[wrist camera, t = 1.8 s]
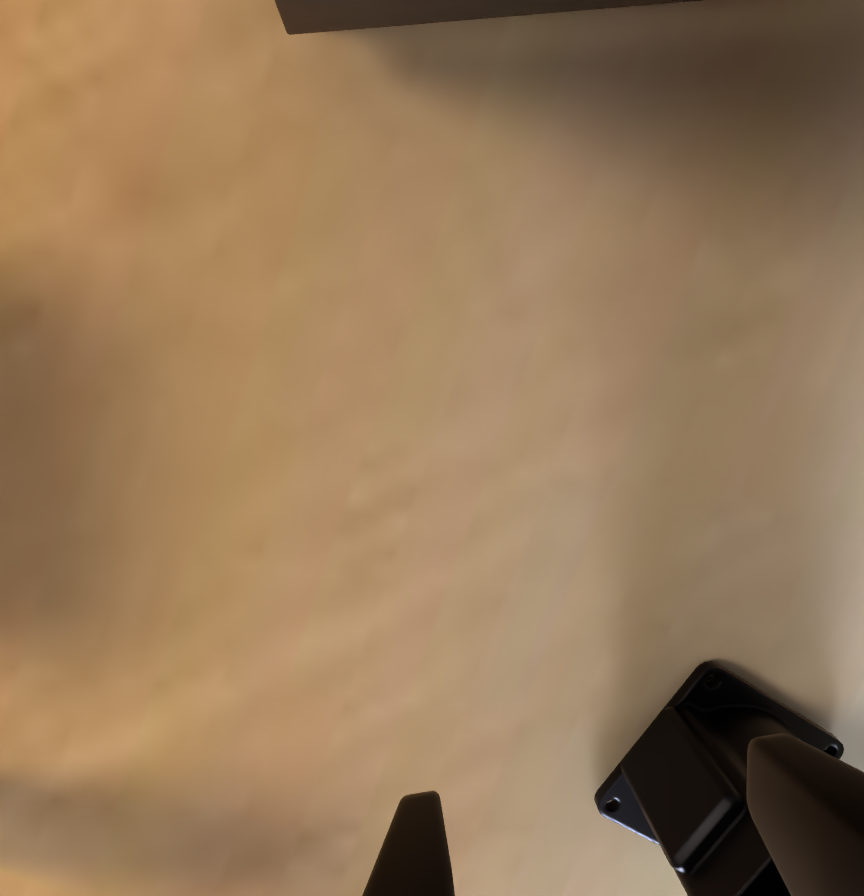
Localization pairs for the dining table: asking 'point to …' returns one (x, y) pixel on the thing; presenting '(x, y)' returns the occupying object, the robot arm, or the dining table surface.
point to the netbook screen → (422, 11)
